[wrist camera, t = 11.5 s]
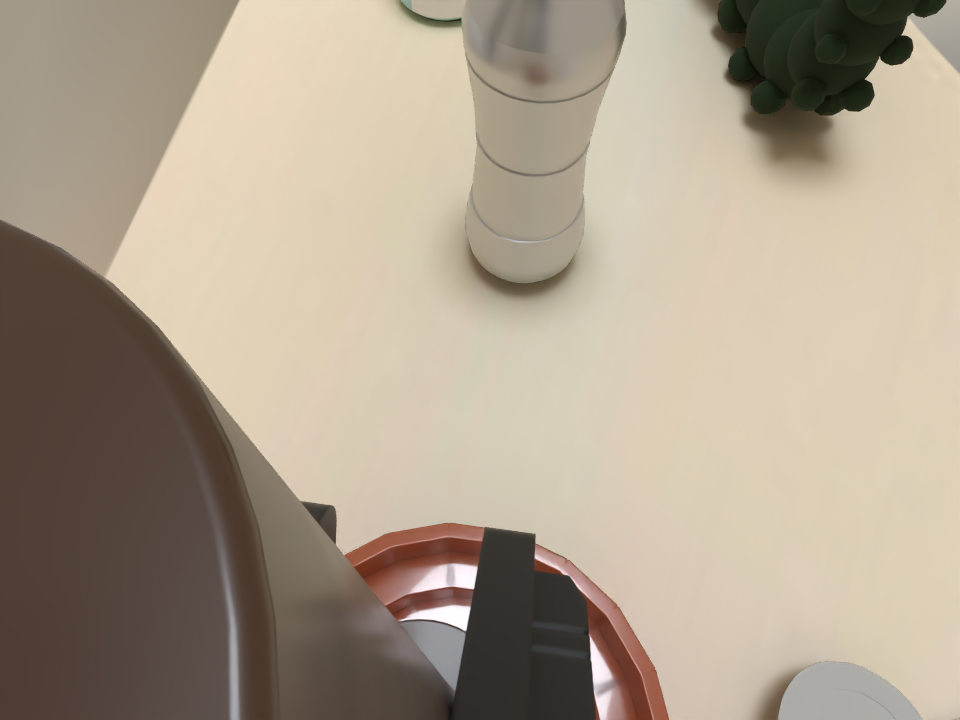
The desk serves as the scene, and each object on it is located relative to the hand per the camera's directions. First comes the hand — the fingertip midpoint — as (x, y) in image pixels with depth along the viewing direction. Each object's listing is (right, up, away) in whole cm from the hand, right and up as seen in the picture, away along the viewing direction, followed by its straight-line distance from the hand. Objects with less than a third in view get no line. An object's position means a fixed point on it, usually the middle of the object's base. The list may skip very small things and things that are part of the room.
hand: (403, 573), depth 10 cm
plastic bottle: (+4, +9, +30) cm, 31 cm away
